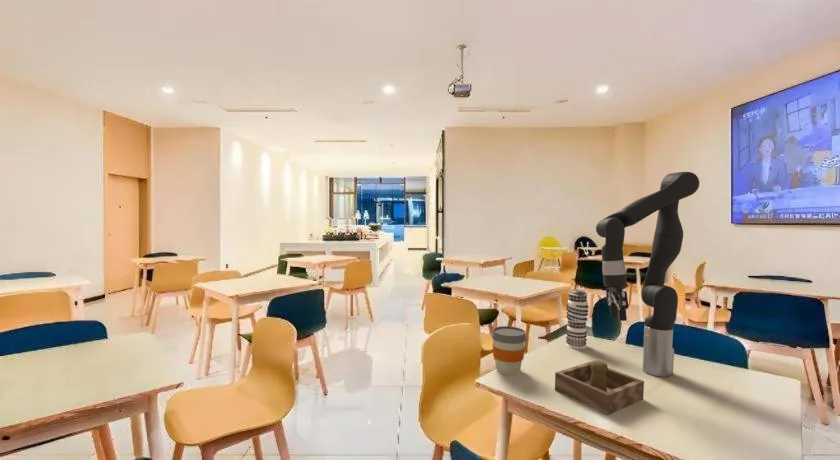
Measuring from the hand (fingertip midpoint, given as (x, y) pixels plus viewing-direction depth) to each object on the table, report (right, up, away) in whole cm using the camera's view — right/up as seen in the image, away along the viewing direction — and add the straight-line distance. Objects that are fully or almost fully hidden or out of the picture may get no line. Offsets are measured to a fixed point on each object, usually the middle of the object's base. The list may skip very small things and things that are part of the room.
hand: (618, 318), depth 144 cm
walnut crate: (-12, -23, -11) cm, 28 cm away
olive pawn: (-12, -23, -11) cm, 28 cm away
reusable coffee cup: (-38, -21, +8) cm, 44 cm away
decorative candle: (-1, -20, +36) cm, 41 cm away
